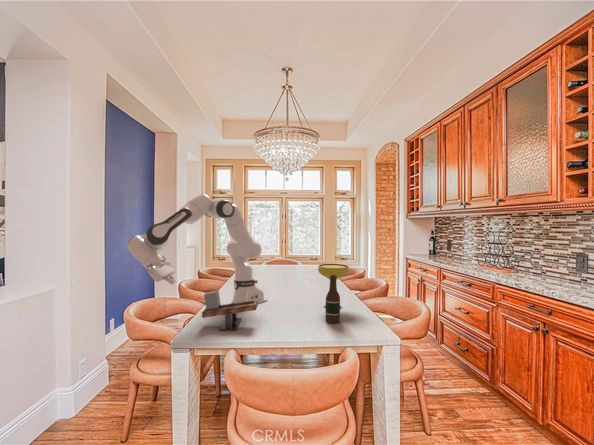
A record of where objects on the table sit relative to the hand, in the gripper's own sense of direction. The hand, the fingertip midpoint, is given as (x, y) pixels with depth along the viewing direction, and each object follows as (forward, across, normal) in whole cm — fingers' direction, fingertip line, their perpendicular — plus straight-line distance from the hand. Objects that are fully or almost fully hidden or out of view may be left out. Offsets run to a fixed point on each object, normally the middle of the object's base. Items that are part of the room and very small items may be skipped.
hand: (174, 283), depth 165 cm
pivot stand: (+35, 0, -5) cm, 35 cm away
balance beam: (+30, 0, -10) cm, 31 cm away
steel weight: (+24, 0, -4) cm, 24 cm away
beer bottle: (+71, +7, -42) cm, 83 cm away
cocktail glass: (+74, +35, -44) cm, 93 cm away
